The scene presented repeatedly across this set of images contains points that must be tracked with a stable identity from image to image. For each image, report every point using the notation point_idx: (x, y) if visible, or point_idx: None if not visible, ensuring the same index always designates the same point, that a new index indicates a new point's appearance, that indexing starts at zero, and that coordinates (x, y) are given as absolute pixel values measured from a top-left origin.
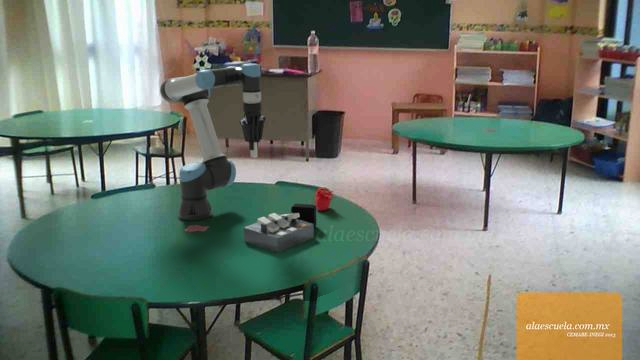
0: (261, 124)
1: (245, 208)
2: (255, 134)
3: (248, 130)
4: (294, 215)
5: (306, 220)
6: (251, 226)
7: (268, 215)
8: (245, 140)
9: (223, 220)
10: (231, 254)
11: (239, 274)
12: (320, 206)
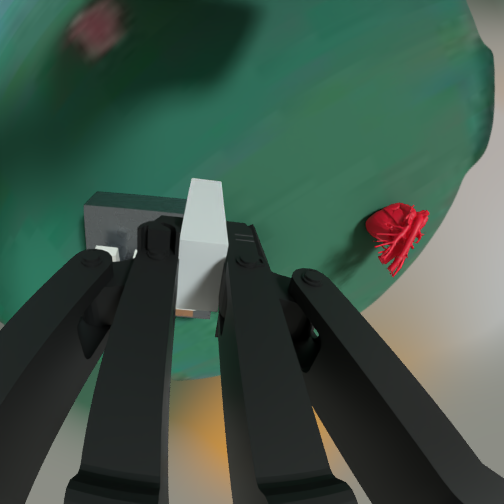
0: (372, 493)
1: (306, 28)
2: (225, 372)
3: (43, 445)
4: (177, 308)
5: None
6: (99, 217)
7: (133, 256)
8: (74, 265)
9: (183, 34)
10: (39, 221)
11: (16, 285)
12: (369, 231)
